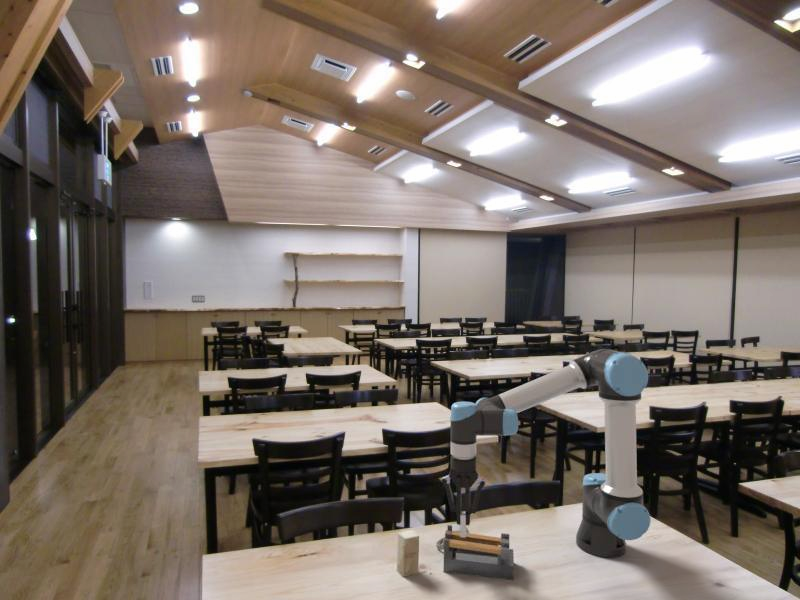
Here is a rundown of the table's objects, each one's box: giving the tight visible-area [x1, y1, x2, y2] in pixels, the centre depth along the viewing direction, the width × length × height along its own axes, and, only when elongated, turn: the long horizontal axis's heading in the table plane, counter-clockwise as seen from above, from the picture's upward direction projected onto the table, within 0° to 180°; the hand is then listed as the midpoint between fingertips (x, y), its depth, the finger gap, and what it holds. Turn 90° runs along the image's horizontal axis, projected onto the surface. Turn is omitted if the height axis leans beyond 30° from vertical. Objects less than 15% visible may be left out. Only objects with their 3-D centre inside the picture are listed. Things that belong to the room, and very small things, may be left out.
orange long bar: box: [444, 529, 508, 546], centre depth 159 cm, size 19×2×2 cm, turn 79°
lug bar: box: [443, 524, 455, 559], centre depth 158 cm, size 2×10×5 cm, turn 169°
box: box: [396, 529, 420, 577], centre depth 153 cm, size 5×4×11 cm
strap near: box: [442, 537, 508, 554], centre depth 154 cm, size 19×2×2 cm, turn 78°
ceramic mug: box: [435, 522, 470, 551], centre depth 167 cm, size 11×8×8 cm
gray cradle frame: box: [443, 532, 515, 581], centre depth 156 cm, size 20×10×9 cm, turn 79°
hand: (463, 535), depth 154 cm, fingers closed
